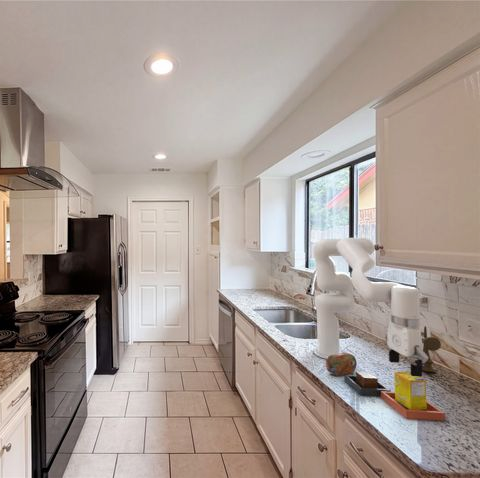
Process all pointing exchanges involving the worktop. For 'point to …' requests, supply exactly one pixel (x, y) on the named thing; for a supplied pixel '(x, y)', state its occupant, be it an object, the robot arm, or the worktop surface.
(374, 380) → the walnut block
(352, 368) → the tin
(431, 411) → the terracotta tray
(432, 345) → the kendama
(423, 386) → the supplement box
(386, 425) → the worktop surface
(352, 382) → the charcoal tray
